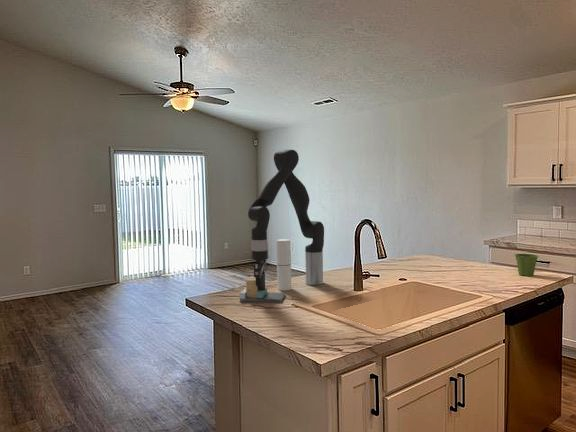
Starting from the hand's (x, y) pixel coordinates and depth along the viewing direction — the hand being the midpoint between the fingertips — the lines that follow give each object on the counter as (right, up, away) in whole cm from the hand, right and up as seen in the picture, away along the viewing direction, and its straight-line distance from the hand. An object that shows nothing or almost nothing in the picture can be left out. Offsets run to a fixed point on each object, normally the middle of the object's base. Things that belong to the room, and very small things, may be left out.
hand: (260, 283), depth 201 cm
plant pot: (+145, -2, +40) cm, 151 cm away
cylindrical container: (+11, -6, +19) cm, 23 cm away
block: (-3, -6, +1) cm, 6 cm away
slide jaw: (+1, -5, 0) cm, 5 cm away
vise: (+1, -7, 0) cm, 7 cm away
